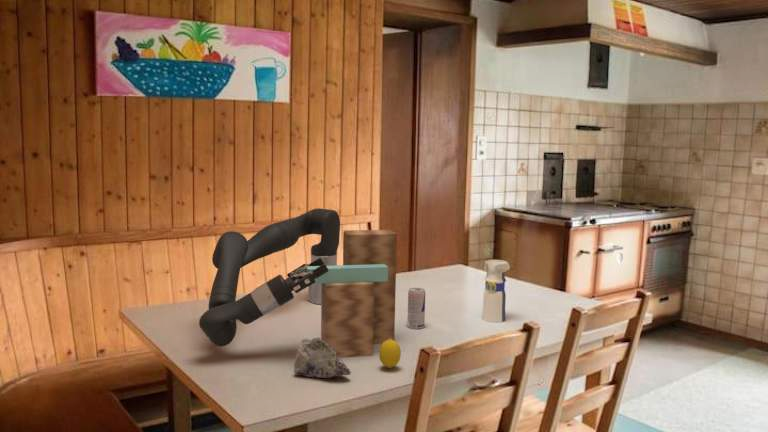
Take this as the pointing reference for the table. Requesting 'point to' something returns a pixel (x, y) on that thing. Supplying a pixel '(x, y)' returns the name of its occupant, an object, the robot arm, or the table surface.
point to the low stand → (348, 317)
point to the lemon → (389, 353)
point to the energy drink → (416, 308)
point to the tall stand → (376, 250)
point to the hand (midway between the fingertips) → (324, 263)
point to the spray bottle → (494, 290)
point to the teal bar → (352, 273)
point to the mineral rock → (318, 360)
